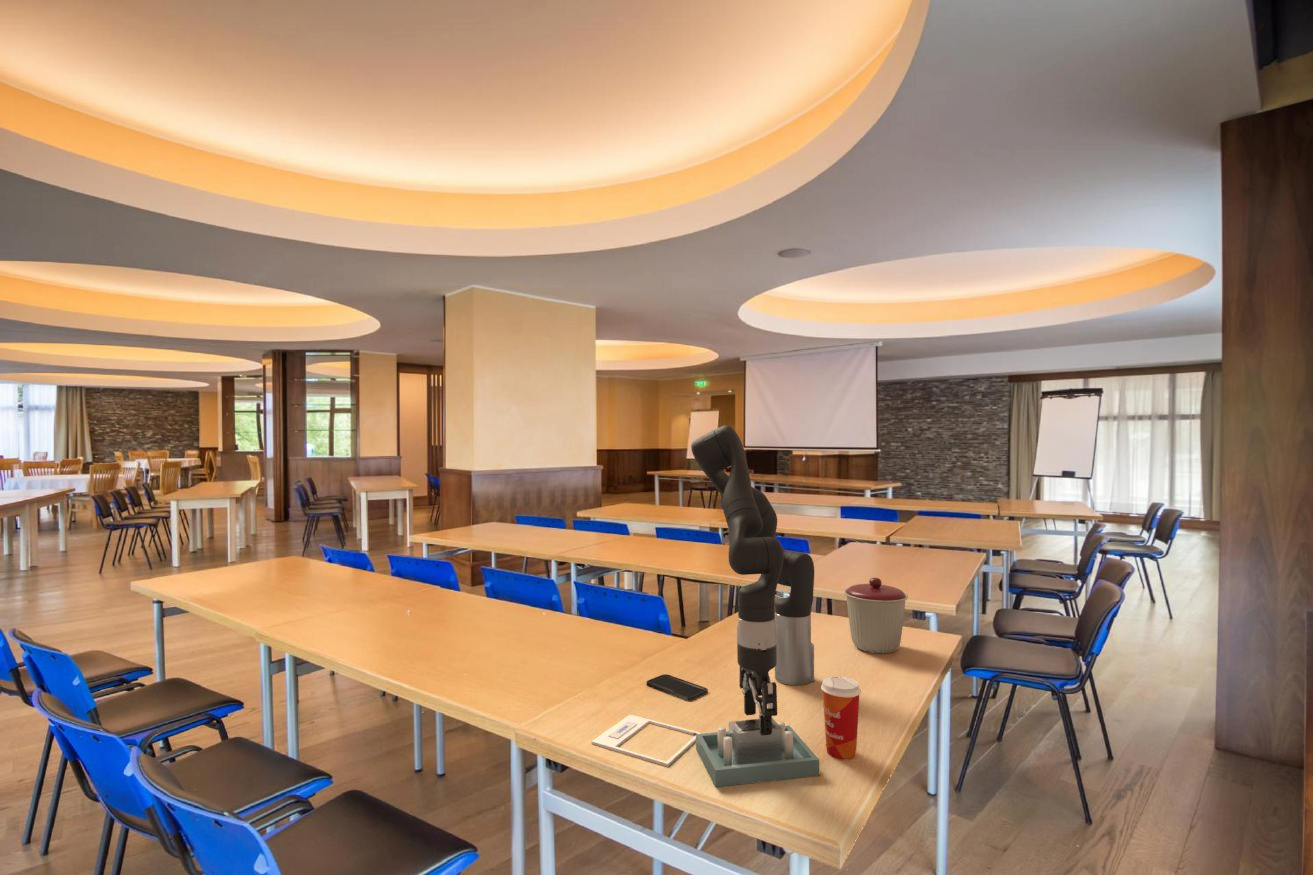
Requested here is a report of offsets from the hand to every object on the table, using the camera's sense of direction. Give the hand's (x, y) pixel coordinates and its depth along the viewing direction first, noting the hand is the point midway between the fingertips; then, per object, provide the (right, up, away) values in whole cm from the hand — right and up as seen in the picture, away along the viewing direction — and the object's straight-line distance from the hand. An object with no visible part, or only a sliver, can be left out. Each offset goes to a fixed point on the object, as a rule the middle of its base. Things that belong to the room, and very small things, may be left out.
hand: (757, 723), depth 121 cm
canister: (+46, -8, +66) cm, 81 cm away
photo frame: (-22, -8, +9) cm, 25 cm away
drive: (0, -6, 0) cm, 6 cm away
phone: (-15, -8, +36) cm, 40 cm away
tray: (-1, -7, 0) cm, 7 cm away
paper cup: (+17, -8, +3) cm, 19 cm away
